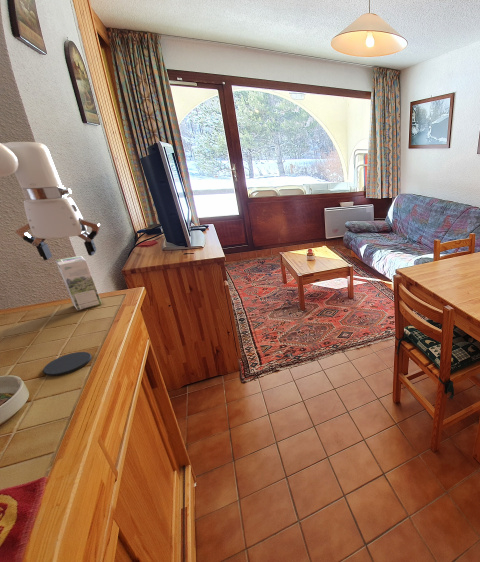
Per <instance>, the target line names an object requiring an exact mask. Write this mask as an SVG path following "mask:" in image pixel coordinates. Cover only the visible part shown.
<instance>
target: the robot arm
mask: <svg viewBox="0 0 480 562" xmlns="http://www.w3.org/2000/svg"><path fill="white" fill-rule="evenodd" d="M13 174H14V176H15V178H16V180H17V183H18V184H19V187H20V189H21V191H22V194H23V196H24V198H25V200H23V208H24V213H25V216H26V221H27V223H26V224H25V225H23V226H21V227H19V228H17V229H16V230H15V231H14V233H15V234H16V235H18V236H19V237H20V238H22V240H23V241H25V242H27V243H28V244H31V245H32V246H33V247H35V248H36V250H37V252H38V255H39V256H40V257H41V258H42V259H43V261H48V260H50V259H51V258H52V257H53V254H52V252H51V250H50V247H49V245H48V243H46V242H45V241H46V239H57V238H60V239H61V238H73V237H78V238H80V239H82V240H83V241H84V242H83V244H84V247H85V250H86V252H87V255H88V256H90V257H91V256H94V255H95V254H96V252H97V247H96V244H95V241H94V239H95V238H96V236H98V234H99V230H100V227H101V224H100V223H97V222H94V221H90V220H87V219H84V217H83V216H82V214H81V212H80V210H79V208H78V207H77V205H76V203H75V201H74V200H73V199H72V197H67V196H68V195H70V194H72V190H71V188H66V187H64V185H62V182H61V178H60V177H59V174H58V171H57V168H56V166H55V164H54V161H53V159H52V156H51V152H50V151H49V149H48V147H47V146H46V144H44V143H42V142H37V141H9V142H0V178H4V177H9V176H11V175H13ZM88 228H91V231H90V232H88ZM28 231H31V233H32V235H33V236H32V235H31V234H29V233H28Z"/></svg>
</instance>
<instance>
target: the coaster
mask: <svg viewBox="0 0 480 562" xmlns="http://www.w3.org/2000/svg"><path fill="white" fill-rule="evenodd" d="M91 361H92V355H91V353H90V352H87V351H76V352H72V353H67V354H64V355H62V356H60V357H56V358H55V359H53V360H51V361H50V362H48V363H47V364H46V365H44V367H43V369H42V371H43V374H44V375H45V376H48V377H58V376H64V375H67V374H71V373H73V372H76V371H78V370H80V369H82V368H84V367H85V366H87V365H88V364H89V363H90V362H91Z"/></svg>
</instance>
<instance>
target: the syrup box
mask: <svg viewBox="0 0 480 562" xmlns="http://www.w3.org/2000/svg"><path fill="white" fill-rule="evenodd" d="M55 264H56V266H57V268H58V271H59V273H60V276H61V279H62V281H63V284H64V286H65V288H66V291H67V293H68V296H69V298H70V300H71V303H72V305H73V306H74V308H75V310H77V311H83V310H85V309H86V310H87V309H90V308H92V307H96V306H101V305H102V304H103V302H102V301H101V298H100V295H99V292H98V290H97V289H98V288H97V286H96V283H95V280H94V278H93V275H92V272H91V269H90V266H89V264H88V261H87V259H85V258H84V257H83V256H82V255H78V256H77V255H76V256H73V257H65V258H60V259H56V260H55Z"/></svg>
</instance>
